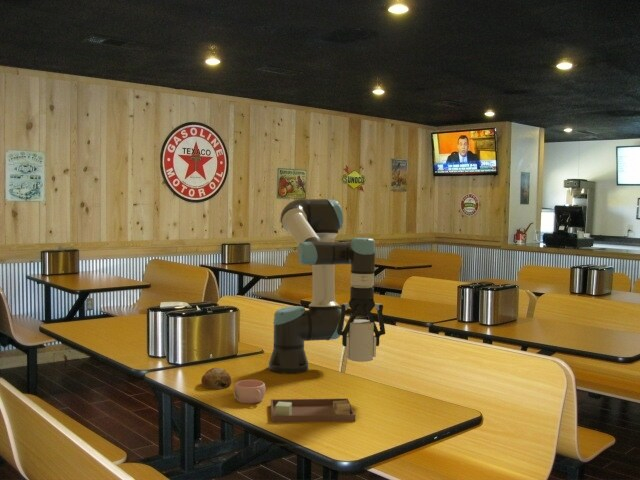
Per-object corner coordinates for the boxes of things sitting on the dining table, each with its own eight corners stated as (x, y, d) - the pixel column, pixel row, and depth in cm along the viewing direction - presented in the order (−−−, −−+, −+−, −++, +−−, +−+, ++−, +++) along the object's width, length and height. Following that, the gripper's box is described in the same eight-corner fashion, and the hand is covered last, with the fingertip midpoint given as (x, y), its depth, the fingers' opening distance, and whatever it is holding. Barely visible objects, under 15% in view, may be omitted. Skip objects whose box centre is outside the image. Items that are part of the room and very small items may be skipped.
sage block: (278, 414, 197) (278, 401, 196) (291, 415, 196) (292, 402, 196) (275, 419, 193) (275, 405, 192) (288, 420, 192) (289, 406, 192)
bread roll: (208, 400, 224) (213, 381, 221) (193, 381, 230) (199, 363, 227) (232, 395, 230) (238, 376, 227) (218, 377, 237) (223, 359, 234)
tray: (270, 407, 206) (270, 399, 206) (347, 406, 208) (347, 398, 208) (272, 424, 190) (272, 416, 190) (355, 423, 192) (355, 414, 192)
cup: (371, 362, 210) (372, 325, 210) (345, 360, 212) (346, 323, 211) (374, 356, 218) (375, 320, 218) (349, 354, 220) (350, 318, 219)
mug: (228, 400, 212) (228, 381, 212) (255, 395, 218) (255, 377, 218) (246, 410, 202) (246, 391, 202) (274, 405, 208) (274, 386, 208)
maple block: (332, 414, 198) (333, 401, 198) (345, 413, 199) (345, 400, 199) (336, 418, 194) (337, 405, 194) (349, 417, 195) (350, 404, 195)
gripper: (331, 287, 209) (329, 359, 210) (396, 288, 211) (394, 358, 213) (328, 284, 216) (326, 353, 218) (391, 284, 218) (389, 353, 220)
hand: (360, 355), depth 215 cm, fingers closed on cup, 8 cm apart
